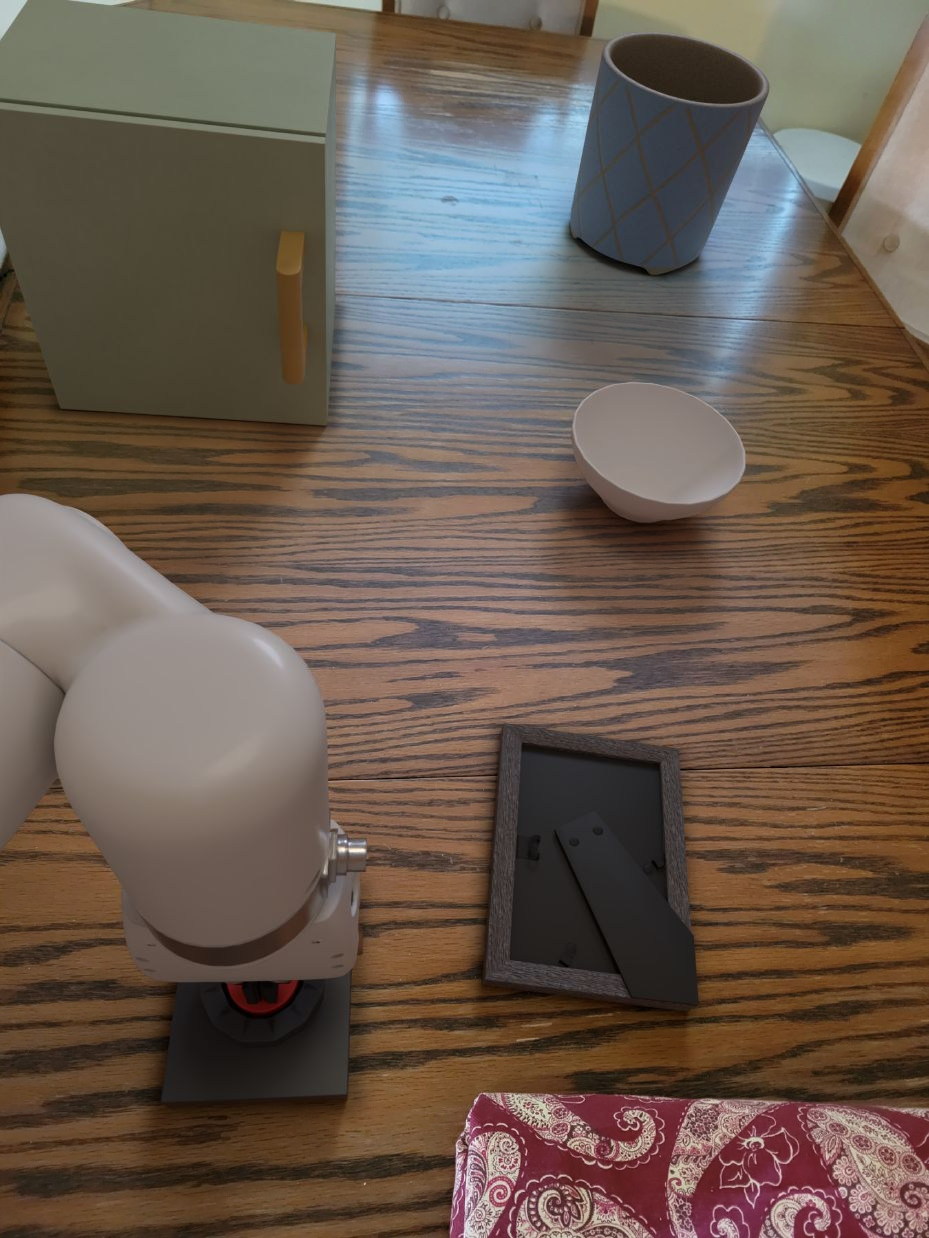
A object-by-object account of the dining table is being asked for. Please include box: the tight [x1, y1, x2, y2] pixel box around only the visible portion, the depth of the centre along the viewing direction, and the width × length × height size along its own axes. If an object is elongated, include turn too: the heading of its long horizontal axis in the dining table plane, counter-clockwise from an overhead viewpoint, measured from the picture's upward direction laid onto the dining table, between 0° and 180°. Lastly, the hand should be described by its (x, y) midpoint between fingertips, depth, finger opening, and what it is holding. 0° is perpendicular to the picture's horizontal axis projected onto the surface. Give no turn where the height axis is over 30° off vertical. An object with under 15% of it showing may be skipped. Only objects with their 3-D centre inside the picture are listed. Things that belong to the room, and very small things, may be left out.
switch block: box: [160, 903, 353, 1109], centre depth 49 cm, size 12×10×4 cm
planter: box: [569, 31, 771, 276], centre depth 101 cm, size 19×19×20 cm
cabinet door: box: [0, 102, 329, 426], centre depth 67 cm, size 7×24×26 cm, turn 93°
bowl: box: [570, 381, 746, 524], centre depth 78 cm, size 16×16×7 cm
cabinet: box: [0, 0, 337, 409], centre depth 74 cm, size 18×24×26 cm
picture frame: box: [481, 722, 700, 1013], centre depth 57 cm, size 13×2×18 cm
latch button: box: [227, 980, 300, 1018], centre depth 48 cm, size 4×4×2 cm
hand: (265, 974), depth 47 cm, fingers closed
